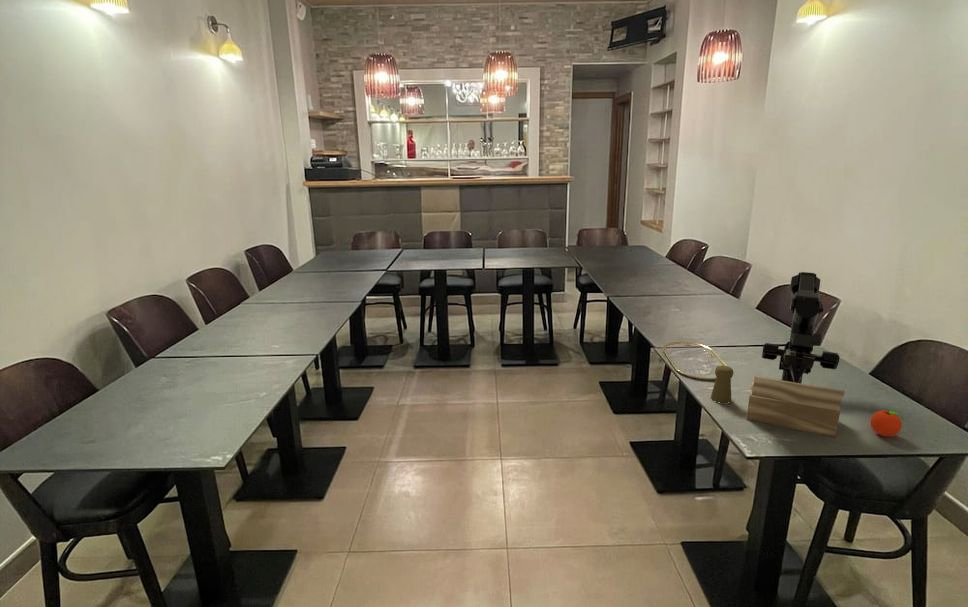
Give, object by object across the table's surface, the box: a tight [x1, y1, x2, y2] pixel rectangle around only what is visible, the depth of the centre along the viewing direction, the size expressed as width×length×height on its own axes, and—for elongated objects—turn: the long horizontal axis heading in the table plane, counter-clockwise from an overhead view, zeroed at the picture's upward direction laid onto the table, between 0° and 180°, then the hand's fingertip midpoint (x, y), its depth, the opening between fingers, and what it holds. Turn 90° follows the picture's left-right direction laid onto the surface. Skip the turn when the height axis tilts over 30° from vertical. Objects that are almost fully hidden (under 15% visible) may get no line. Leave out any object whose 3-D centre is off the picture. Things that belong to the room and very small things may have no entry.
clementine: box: [869, 409, 904, 437], centre depth 146 cm, size 8×7×7 cm
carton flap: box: [752, 375, 845, 411], centre depth 145 cm, size 11×21×1 cm
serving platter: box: [662, 341, 727, 381], centre depth 198 cm, size 19×35×2 cm, turn 176°
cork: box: [710, 365, 734, 404], centre depth 167 cm, size 6×6×11 cm
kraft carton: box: [746, 379, 841, 438], centre depth 155 cm, size 12×22×8 cm, turn 61°
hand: (795, 383), depth 150 cm, fingers closed
